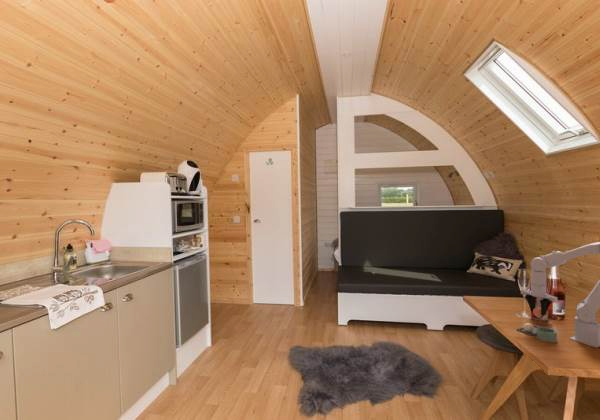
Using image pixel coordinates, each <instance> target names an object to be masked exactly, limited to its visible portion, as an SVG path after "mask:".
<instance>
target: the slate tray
mask: <svg viewBox="0 0 600 420" xmlns="http://www.w3.org/2000/svg"><path fill="white" fill-rule="evenodd" d="M532 325H533V326H534V330H533V331H532V332H527V331H525V330H524V328H523V326H522V327H519V328H516V331H517V332H521V333H522V334H525V335H529V336H532V337H533V336H534V337H535V336H537V327H539V325H535V324H532Z"/></svg>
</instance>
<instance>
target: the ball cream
mask: <svg viewBox="0 0 600 420" xmlns="http://www.w3.org/2000/svg"><path fill="white" fill-rule="evenodd" d="M533 325H534V324H533V323H529V322H526V323H524V324H523V326H522V327H523V328H524V330H525V331H527V332H532V331H533V330H534V326H533Z"/></svg>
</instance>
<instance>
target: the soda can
mask: <svg viewBox="0 0 600 420" xmlns="http://www.w3.org/2000/svg"><path fill="white" fill-rule="evenodd" d="M540 300H543V299H541V298H537V299H536V308H537V307H538V308H541V304H540ZM530 317H531V318H532V319H533V320H536V321H539V322H547V321H548V319H549V308H548V309H547V312H546V315H542V316H540V317H538V316H536V315H534V313H533V312H531V311H530Z"/></svg>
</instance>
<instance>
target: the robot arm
mask: <svg viewBox="0 0 600 420" xmlns="http://www.w3.org/2000/svg"><path fill="white" fill-rule="evenodd" d="M587 255H595V256H599V255H600V241H597V242H591V243H589V244H585V245H582V246H579V247H577V248H574V249H570V250H568V251H564V252H562V251H559V250H558V251H556V250H553V251H551V253H548V254H545V255H543V254H541V255H539V256H538V257H534V258H533V259H532V260H531V261H530V264H529V265H530V268H531V269H530V272H531V273H530V290H528V289H524V288H523V289H521V290H520V294H521V295H525V296H524V298H525V300H526V302H527V304H528V306H529V309H530V313H531V312H533V309H534V308H536V299H537V298H541V299H543V300H540V304H541V315H546V312H547V309H548V310H549V307H550V306H551V304H552V303H558V297H557V296H553V295H551V294H547V273H546V269H547V268H549V269H551V268H554V267H558V266H561V265H564V264H567V261H568V260H570V259H574V258H579V257H581V256H587ZM575 309H576V312H575V315H576V316H574V336H571V337H569V340H573V341H575V342H578V343H580V344H584V345H588V346H591V347H593V348H600V322H598V319H597V313H598V311H599V309H600V279H599V280H597V283H596V284H595V286H594V287H593V288H592V289H591V291H590V293H589V294H588V296H587V297H585V299H584V300H583V301H581V302H578V304H577V305H576V307H575Z"/></svg>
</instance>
